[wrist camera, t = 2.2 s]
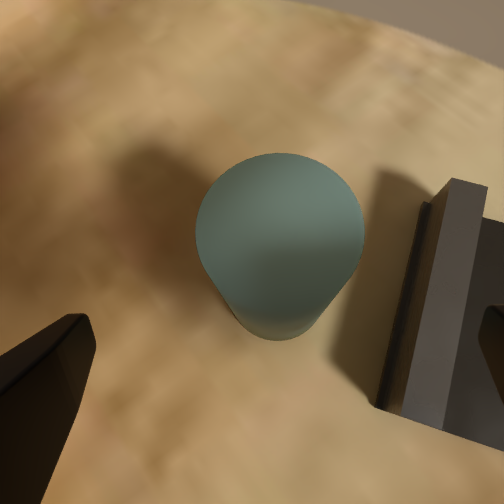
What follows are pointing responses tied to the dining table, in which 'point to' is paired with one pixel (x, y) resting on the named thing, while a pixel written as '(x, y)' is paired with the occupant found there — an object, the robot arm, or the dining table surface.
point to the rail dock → (448, 320)
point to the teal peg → (279, 241)
